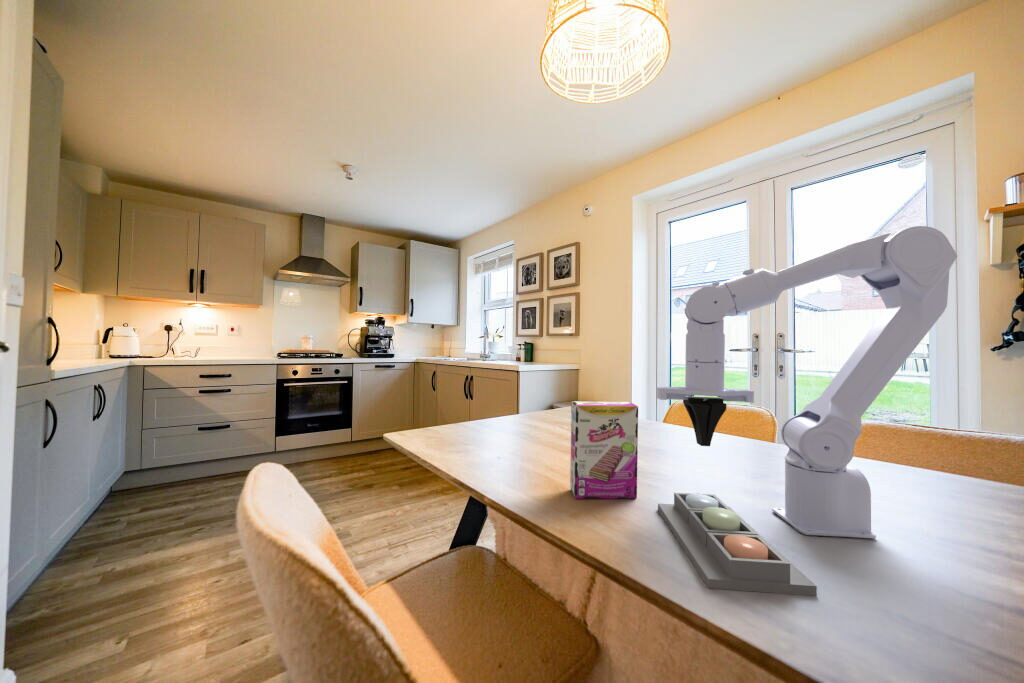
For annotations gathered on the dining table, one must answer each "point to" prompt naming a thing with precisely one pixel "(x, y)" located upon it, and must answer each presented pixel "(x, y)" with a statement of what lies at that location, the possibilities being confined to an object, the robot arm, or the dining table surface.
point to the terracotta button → (745, 547)
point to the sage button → (721, 519)
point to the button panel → (719, 564)
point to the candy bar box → (604, 449)
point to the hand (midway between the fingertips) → (703, 444)
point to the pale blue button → (700, 501)
